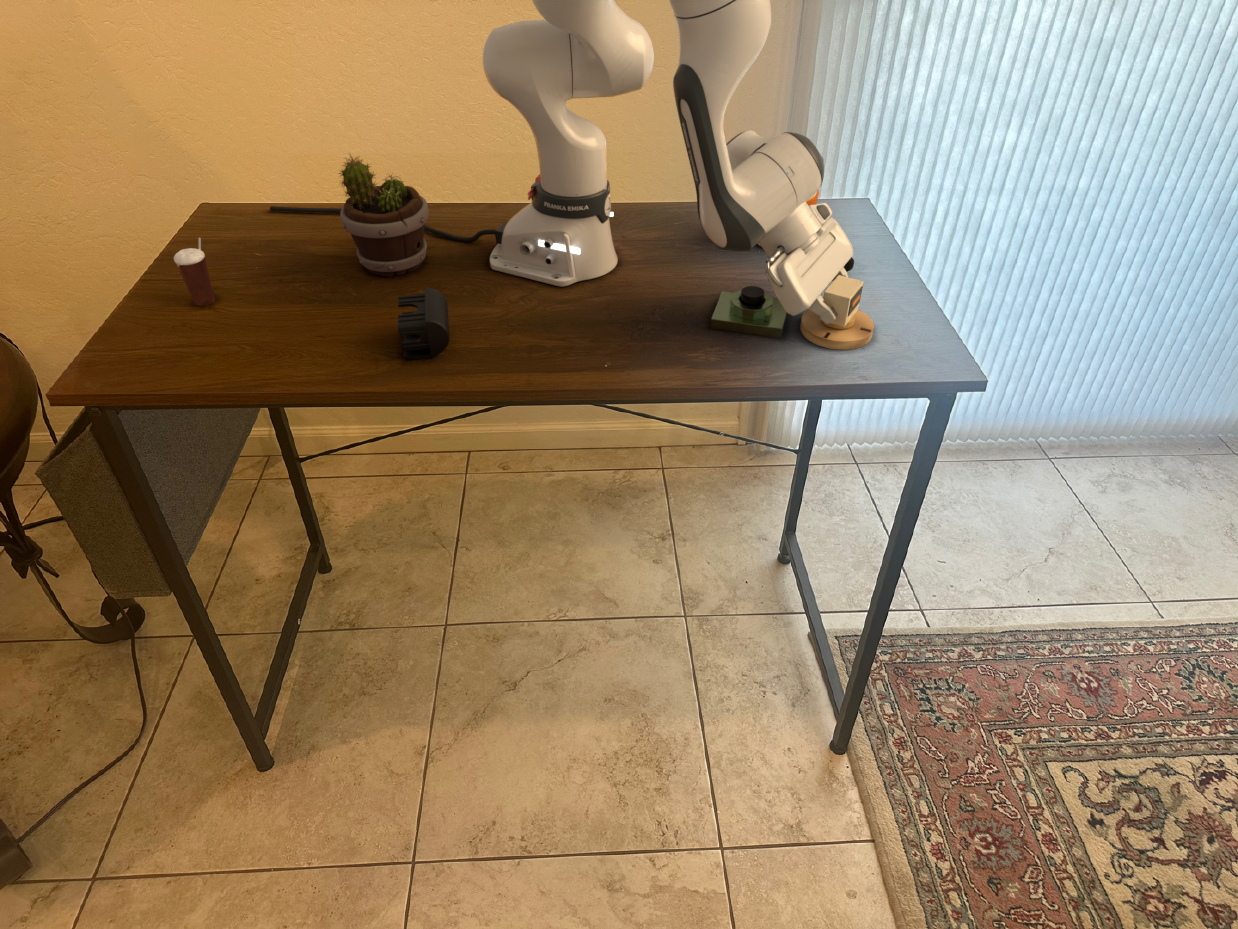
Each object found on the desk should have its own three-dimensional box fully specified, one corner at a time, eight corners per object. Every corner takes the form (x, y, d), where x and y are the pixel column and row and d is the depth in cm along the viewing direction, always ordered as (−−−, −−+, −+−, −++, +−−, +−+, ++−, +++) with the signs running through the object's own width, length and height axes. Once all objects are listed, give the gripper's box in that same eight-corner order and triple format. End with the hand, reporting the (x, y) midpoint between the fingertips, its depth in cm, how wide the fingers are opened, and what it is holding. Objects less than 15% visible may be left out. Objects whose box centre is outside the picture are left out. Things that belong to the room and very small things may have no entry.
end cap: (452, 357, 129) (446, 318, 124) (404, 362, 128) (396, 323, 123) (450, 323, 136) (444, 285, 132) (405, 327, 135) (397, 289, 131)
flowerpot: (441, 242, 158) (424, 132, 145) (429, 283, 146) (410, 167, 133) (361, 244, 157) (337, 134, 144) (344, 285, 146) (316, 169, 133)
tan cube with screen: (860, 316, 134) (867, 282, 130) (846, 333, 130) (853, 299, 126) (829, 307, 136) (835, 273, 132) (815, 324, 132) (820, 290, 128)
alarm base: (710, 328, 135) (711, 308, 132) (721, 300, 141) (722, 281, 139) (780, 338, 132) (783, 318, 130) (788, 309, 139) (791, 289, 137)
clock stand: (858, 357, 128) (860, 348, 127) (789, 337, 132) (790, 328, 131) (881, 323, 135) (883, 314, 134) (815, 305, 140) (816, 297, 139)
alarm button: (738, 305, 134) (739, 295, 133) (742, 294, 136) (743, 284, 135) (761, 308, 133) (762, 298, 132) (765, 297, 136) (766, 287, 134)
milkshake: (229, 295, 143) (210, 240, 137) (205, 310, 140) (184, 254, 133) (209, 290, 145) (189, 234, 138) (184, 305, 141) (163, 248, 135)
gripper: (778, 252, 120) (833, 332, 122) (831, 199, 133) (880, 272, 135) (746, 273, 124) (799, 349, 127) (800, 219, 137) (847, 289, 140)
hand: (841, 309), depth 131 cm, fingers closed on tan cube with screen, 6 cm apart
